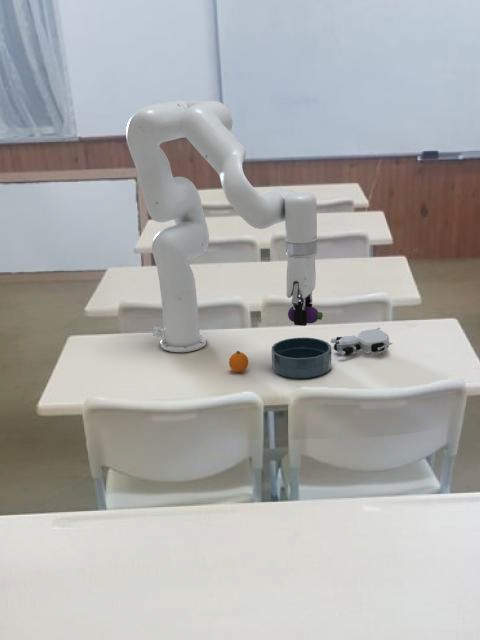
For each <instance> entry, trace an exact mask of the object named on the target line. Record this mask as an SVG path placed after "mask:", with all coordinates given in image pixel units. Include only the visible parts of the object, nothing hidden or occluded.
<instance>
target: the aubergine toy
mask: <svg viewBox="0 0 480 640" xmlns="http://www.w3.org/2000/svg"><path fill="white" fill-rule="evenodd" d="M305 310H307V324H314V323H316V322H317V321H318V320H320V321H322V320H323V312H322V311H319V310H318V309H317V308H316V307H313V306H312V307H305ZM287 318H288V320H289V321H290V322H293V323H294V310H293V306H291V307H290V308H289V309H288V311H287Z"/></svg>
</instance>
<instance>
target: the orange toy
mask: <svg viewBox="0 0 480 640" xmlns="http://www.w3.org/2000/svg"><path fill="white" fill-rule="evenodd" d="M228 365H229V368H230V369H231V370H232V371H233V372H236V373H243V372H244V371H246V370H247V368H248V366H249V358H248V356H247V355H246V354H245V353H244V352H241V351H240V350H236V352H234V353H232V354H231V355H230V356H229V359H228Z"/></svg>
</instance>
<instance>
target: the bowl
mask: <svg viewBox="0 0 480 640" xmlns="http://www.w3.org/2000/svg"><path fill="white" fill-rule="evenodd" d="M271 368H272V370H273V371H274V373H276V374H278V375H280V376H281V377H285V378H289V379H299V380H302V379H303V380H304V379H312V378H317V377H320V376H322V375H324V374H325V373H327V372H329V371H330V370H331V368H332V345H331V343H329V342H328V341H325V340H323V339H320V338H314V337H292V338H286V339H282V340H280V341H277V342H276V343H274V344H273V345H272V346H271Z"/></svg>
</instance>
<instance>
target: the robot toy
mask: <svg viewBox="0 0 480 640" xmlns="http://www.w3.org/2000/svg"><path fill="white" fill-rule="evenodd" d="M330 344H333V350H335V351H336V352H337V353H338V355H340V356H345V357H347V356H351V355H352V354H355V353H358V352H359V351H360V350H361V351H362V352H364V353H367V354H373V355H379V354H381V353H382V352H385V351H387V350H388V349H389V348H390V346H391V345H393V342H390V337H389V335H388V334H387V333H386V332H385V331H383V330H381V327H377V328H371V329H365V330H361V331H360V332H359V333H358V334H357V335H347V336H337V337H336V338H335V337H334V338H331V339H330Z"/></svg>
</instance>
